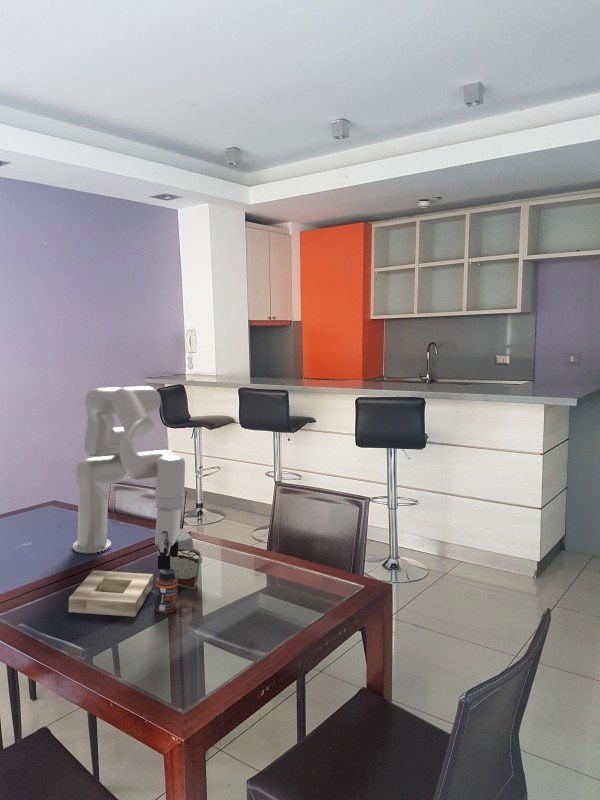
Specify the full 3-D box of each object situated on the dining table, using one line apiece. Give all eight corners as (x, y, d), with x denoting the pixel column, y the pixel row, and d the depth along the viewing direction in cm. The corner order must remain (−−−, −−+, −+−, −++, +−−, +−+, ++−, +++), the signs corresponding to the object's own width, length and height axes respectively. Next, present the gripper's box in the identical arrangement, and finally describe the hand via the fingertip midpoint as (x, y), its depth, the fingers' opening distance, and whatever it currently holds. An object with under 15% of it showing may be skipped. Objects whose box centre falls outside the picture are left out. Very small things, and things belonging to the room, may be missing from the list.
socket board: (92, 583, 176) (93, 570, 175) (152, 587, 176) (153, 574, 175) (68, 612, 158) (68, 598, 157) (135, 616, 158) (135, 602, 157)
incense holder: (162, 559, 196) (163, 529, 195) (187, 556, 200) (188, 527, 198) (170, 571, 187) (171, 540, 186) (195, 568, 191) (196, 537, 190)
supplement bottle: (165, 617, 159) (167, 577, 157) (149, 610, 162) (151, 571, 160) (181, 608, 164) (182, 570, 162) (165, 602, 167) (166, 564, 165)
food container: (208, 582, 182) (209, 551, 180) (198, 590, 176) (200, 558, 175) (173, 574, 186) (174, 543, 184) (163, 581, 180) (164, 550, 178)
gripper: (163, 492, 167) (162, 549, 169) (147, 510, 150) (145, 574, 152) (189, 493, 167) (188, 551, 169) (176, 511, 150) (174, 575, 152)
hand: (168, 562), depth 161 cm, fingers open, 9 cm apart
